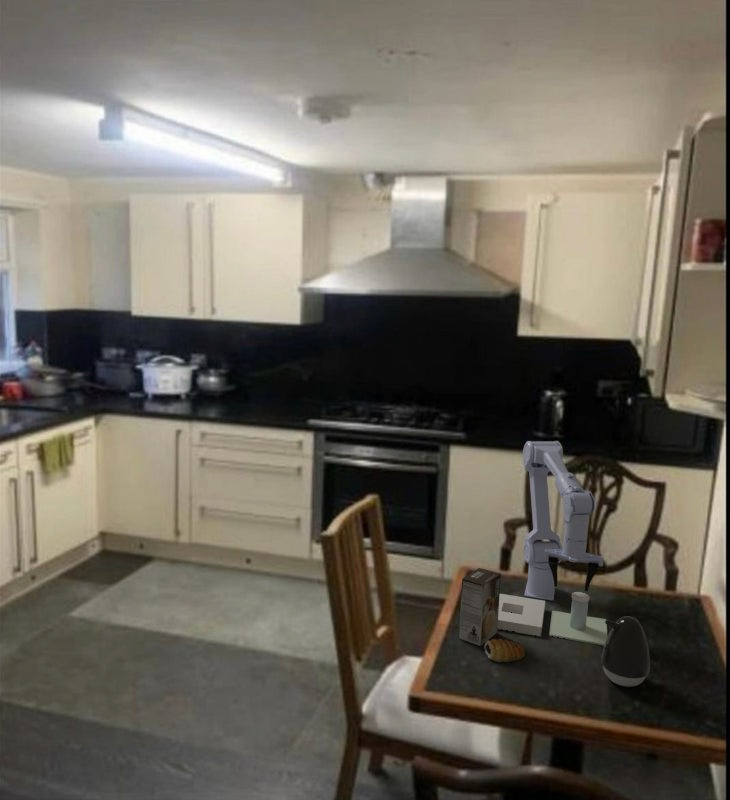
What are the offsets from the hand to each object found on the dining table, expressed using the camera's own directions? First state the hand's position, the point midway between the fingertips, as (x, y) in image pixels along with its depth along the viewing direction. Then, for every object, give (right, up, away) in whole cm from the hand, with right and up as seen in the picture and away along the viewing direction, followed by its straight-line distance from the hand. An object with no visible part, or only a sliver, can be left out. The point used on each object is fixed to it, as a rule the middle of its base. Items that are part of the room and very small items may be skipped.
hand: (570, 587), depth 184 cm
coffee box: (-25, -11, -6) cm, 28 cm away
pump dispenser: (+5, -15, -24) cm, 29 cm away
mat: (+2, -11, 0) cm, 11 cm away
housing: (-14, -9, +5) cm, 18 cm away
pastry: (-21, -13, -15) cm, 28 cm away
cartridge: (+2, -10, 0) cm, 10 cm away
